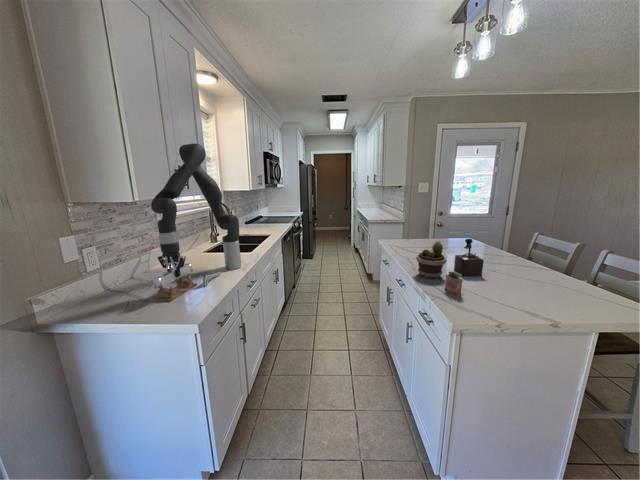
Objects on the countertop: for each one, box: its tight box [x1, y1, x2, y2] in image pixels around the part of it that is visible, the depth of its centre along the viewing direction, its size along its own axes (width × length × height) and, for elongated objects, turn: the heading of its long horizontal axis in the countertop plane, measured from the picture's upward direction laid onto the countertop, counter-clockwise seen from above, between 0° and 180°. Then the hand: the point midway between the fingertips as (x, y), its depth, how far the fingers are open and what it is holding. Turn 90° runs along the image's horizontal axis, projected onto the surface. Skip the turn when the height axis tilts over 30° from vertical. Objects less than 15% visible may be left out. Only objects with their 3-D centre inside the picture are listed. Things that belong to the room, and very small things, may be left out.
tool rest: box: [153, 275, 198, 303], centre depth 122 cm, size 19×8×6 cm, turn 170°
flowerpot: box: [415, 239, 447, 280], centre depth 136 cm, size 14×15×20 cm
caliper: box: [202, 271, 223, 287], centre depth 138 cm, size 20×1×6 cm, turn 178°
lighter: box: [443, 270, 464, 297], centre depth 115 cm, size 8×3×10 cm, turn 23°
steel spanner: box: [152, 262, 193, 289], centre depth 121 cm, size 23×3×4 cm, turn 170°
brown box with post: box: [453, 238, 485, 278], centre depth 141 cm, size 16×11×18 cm
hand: (174, 276), depth 121 cm, fingers closed on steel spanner, 3 cm apart
